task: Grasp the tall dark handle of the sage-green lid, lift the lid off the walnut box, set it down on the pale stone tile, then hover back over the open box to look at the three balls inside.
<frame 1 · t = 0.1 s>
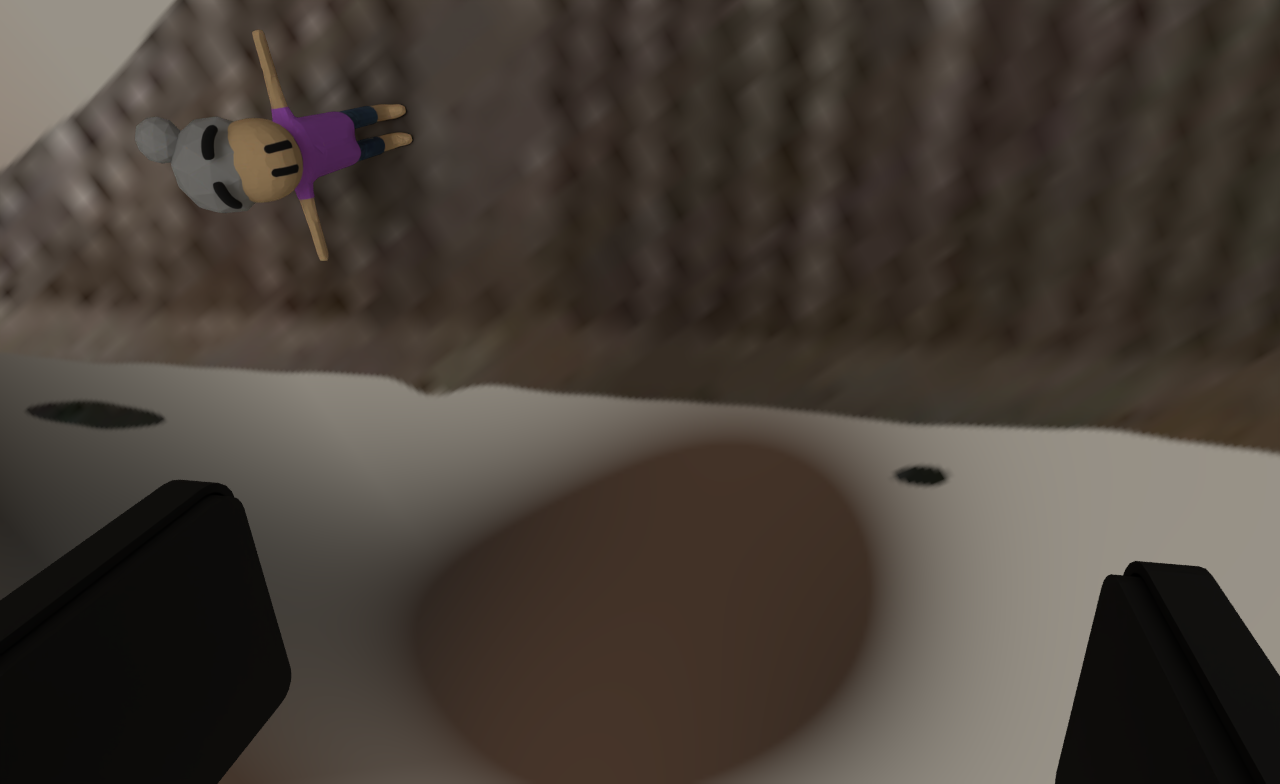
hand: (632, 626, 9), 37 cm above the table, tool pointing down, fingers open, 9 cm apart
toy: (378, 127, 46), on the table
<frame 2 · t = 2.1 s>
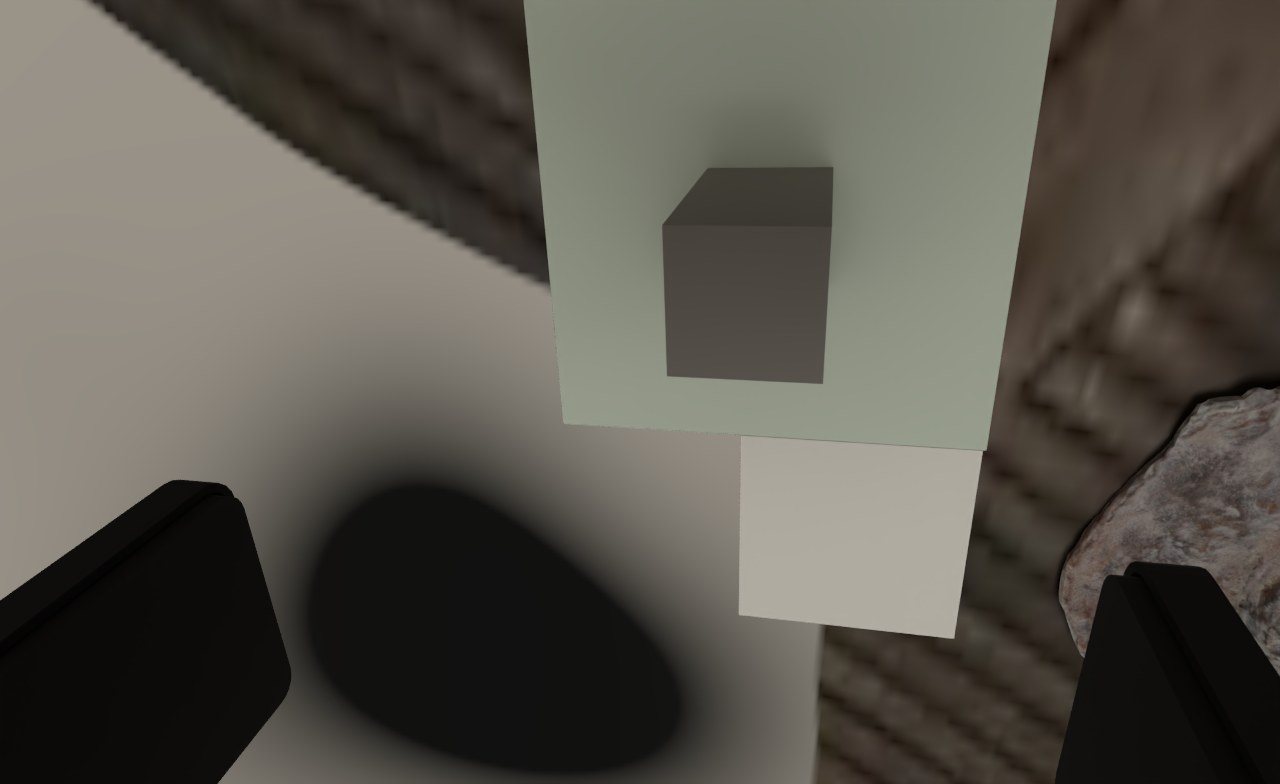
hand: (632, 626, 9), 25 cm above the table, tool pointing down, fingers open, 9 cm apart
lid: (770, 221, 25), point 7 cm above the table, touching walnut box
fossil: (1252, 559, 34), on the table
stone tile: (850, 532, 37), on the table
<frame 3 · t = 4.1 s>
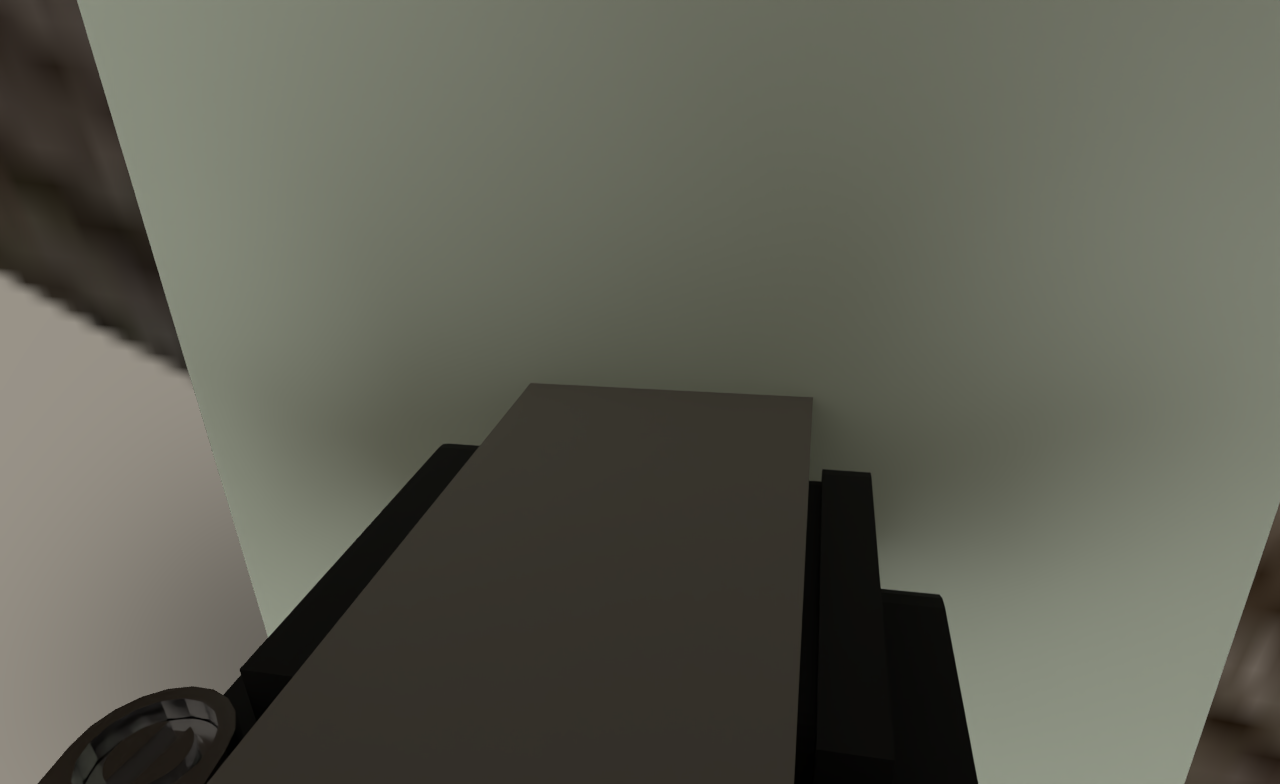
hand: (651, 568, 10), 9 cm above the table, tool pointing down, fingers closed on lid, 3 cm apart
lid: (682, 473, 12), point 7 cm above the table, touching gripper, walnut box
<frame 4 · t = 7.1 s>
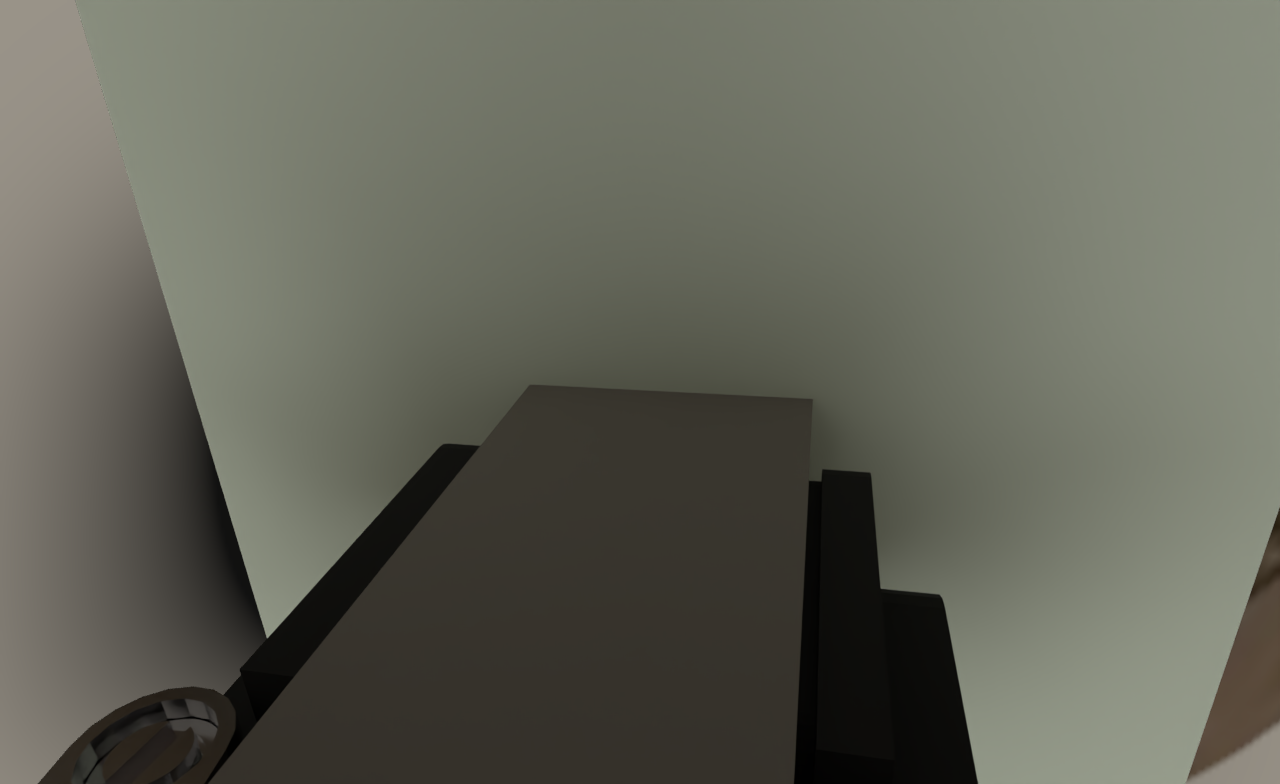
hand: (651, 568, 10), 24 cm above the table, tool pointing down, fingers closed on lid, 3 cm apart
lid: (682, 475, 12), point 22 cm above the table, touching gripper
when the fingers open (4 cm above the table, at t = 10.3 s): lid drops 2 cm, resting on stone tile.
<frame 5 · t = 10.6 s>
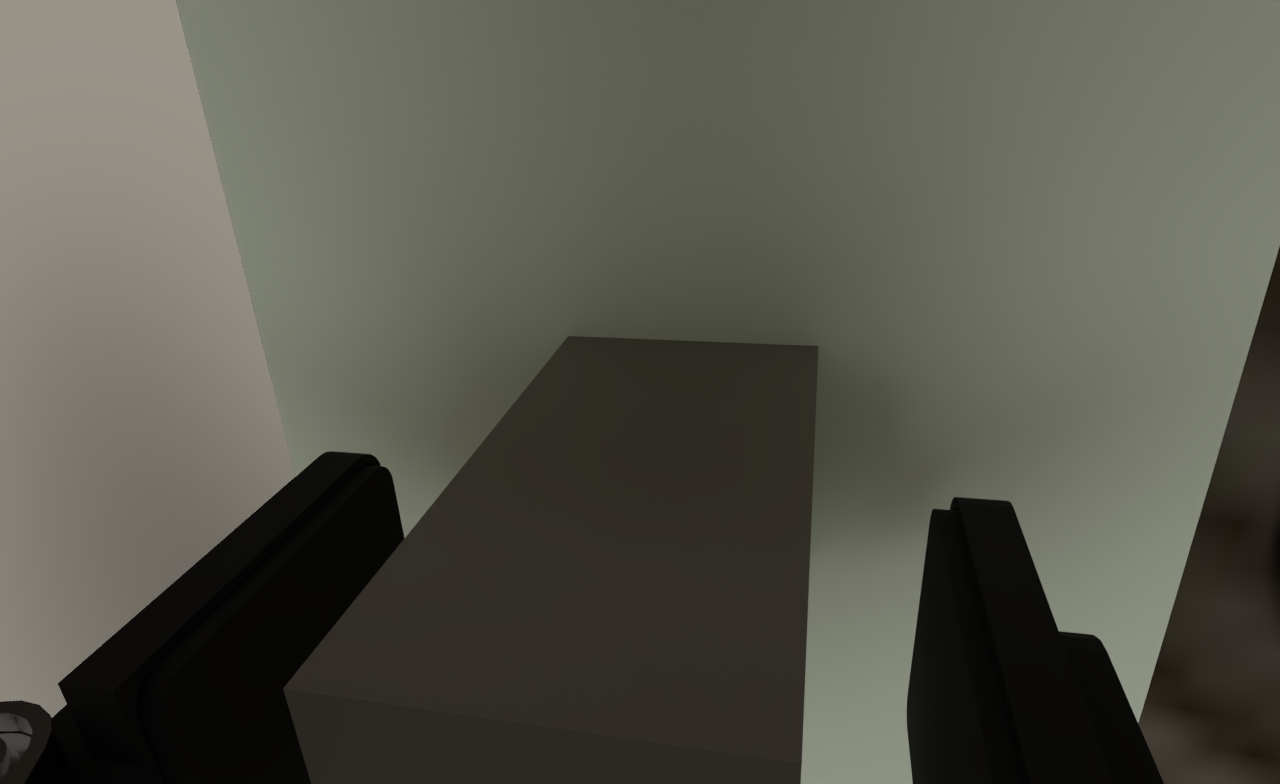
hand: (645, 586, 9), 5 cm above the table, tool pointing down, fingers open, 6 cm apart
lid: (700, 421, 13), point 1 cm above the table, touching stone tile
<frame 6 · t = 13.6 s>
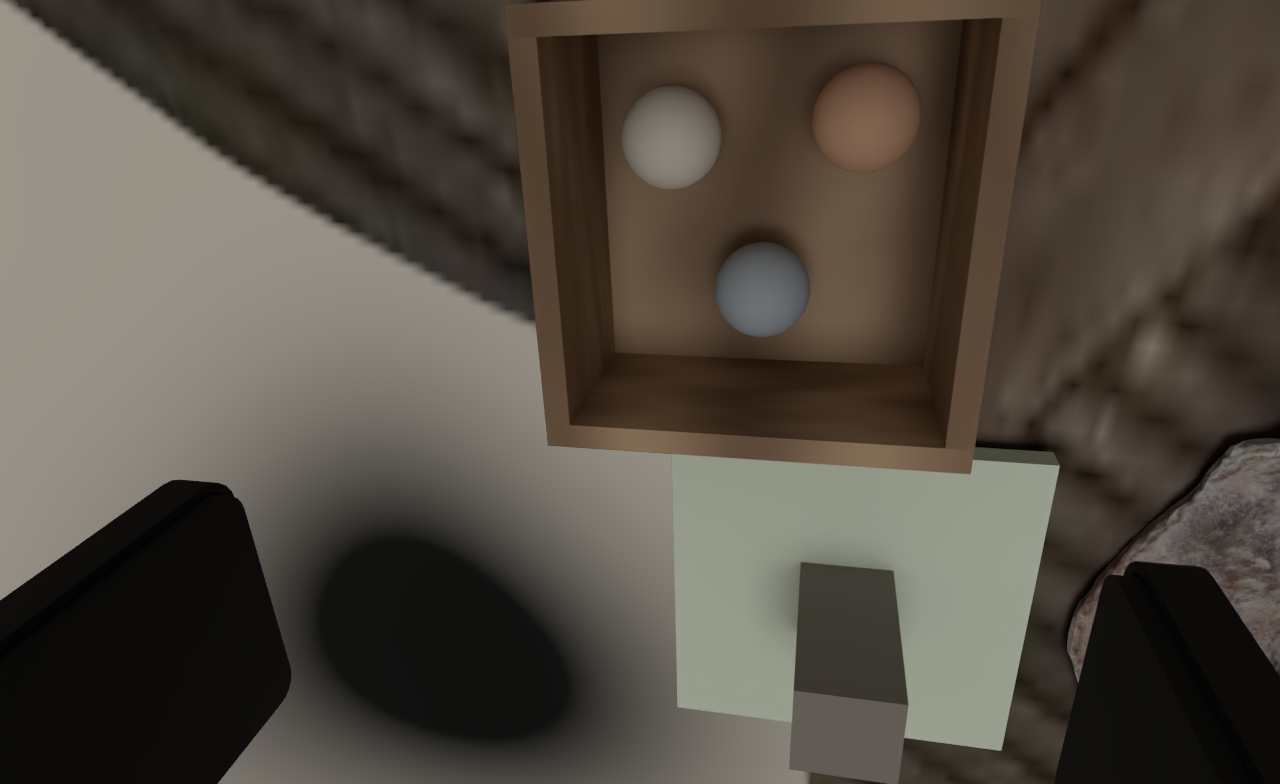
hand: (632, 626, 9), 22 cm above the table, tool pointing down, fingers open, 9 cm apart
lid: (843, 586, 34), point 1 cm above the table, touching stone tile
walnut box: (768, 201, 29), on the table
fossil: (1277, 612, 32), on the table
ball cream: (671, 138, 26), point 2 cm above the table, touching walnut box
ball terracotta: (865, 118, 25), point 2 cm above the table, touching walnut box
ball slate: (762, 289, 27), point 2 cm above the table, touching walnut box
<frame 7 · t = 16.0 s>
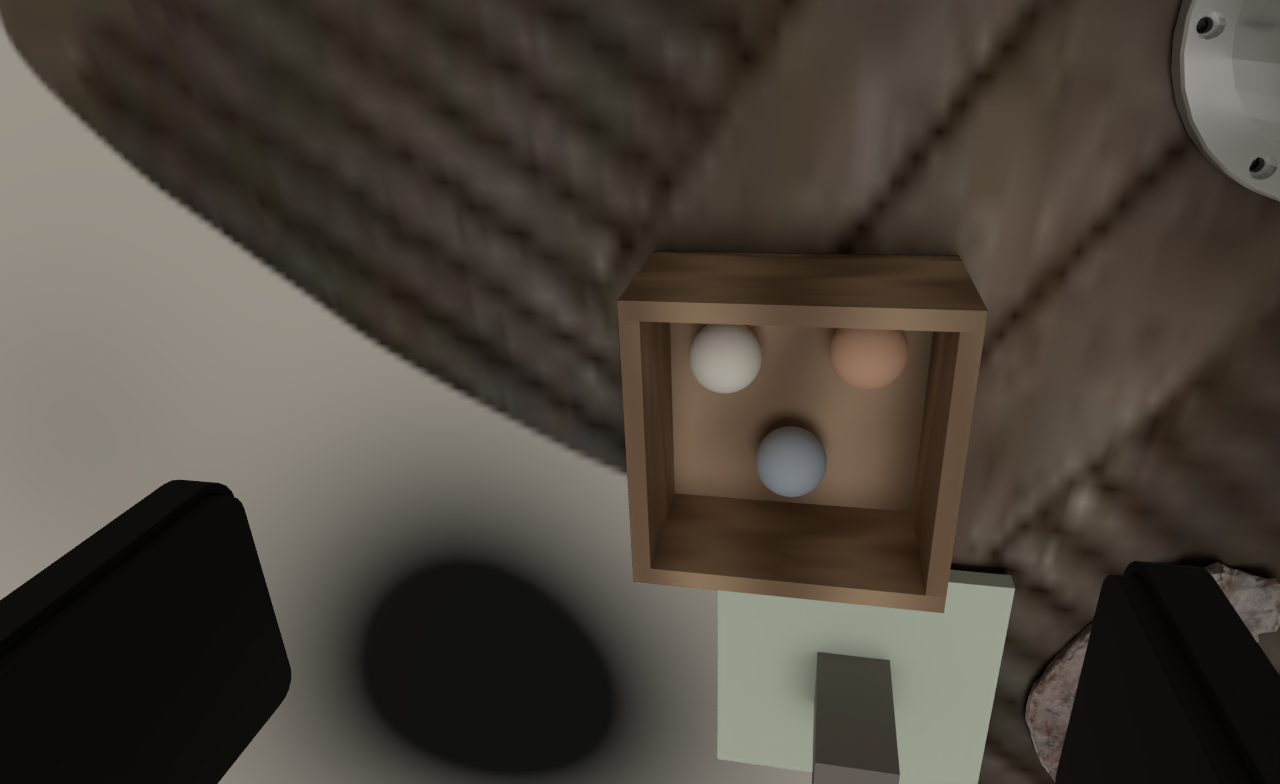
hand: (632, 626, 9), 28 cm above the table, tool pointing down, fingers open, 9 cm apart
lid: (850, 668, 43), point 1 cm above the table, touching stone tile
walnut box: (795, 389, 38), on the table
fossil: (1186, 693, 41), on the table
ball cream: (725, 356, 35), point 2 cm above the table, touching walnut box
ball terracotta: (868, 351, 34), point 2 cm above the table, touching walnut box
ball slate: (790, 461, 37), point 2 cm above the table, touching walnut box
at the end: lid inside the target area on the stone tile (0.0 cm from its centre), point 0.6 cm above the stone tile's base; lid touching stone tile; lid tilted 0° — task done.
